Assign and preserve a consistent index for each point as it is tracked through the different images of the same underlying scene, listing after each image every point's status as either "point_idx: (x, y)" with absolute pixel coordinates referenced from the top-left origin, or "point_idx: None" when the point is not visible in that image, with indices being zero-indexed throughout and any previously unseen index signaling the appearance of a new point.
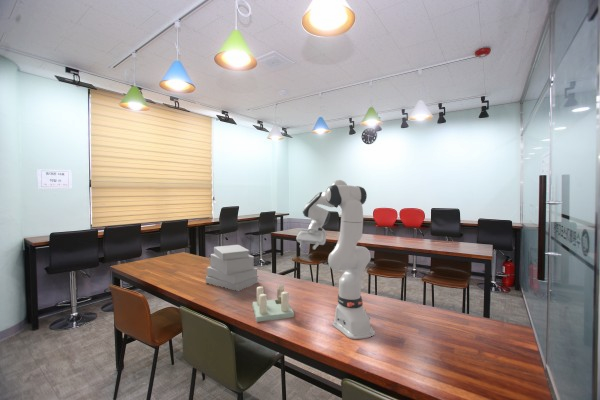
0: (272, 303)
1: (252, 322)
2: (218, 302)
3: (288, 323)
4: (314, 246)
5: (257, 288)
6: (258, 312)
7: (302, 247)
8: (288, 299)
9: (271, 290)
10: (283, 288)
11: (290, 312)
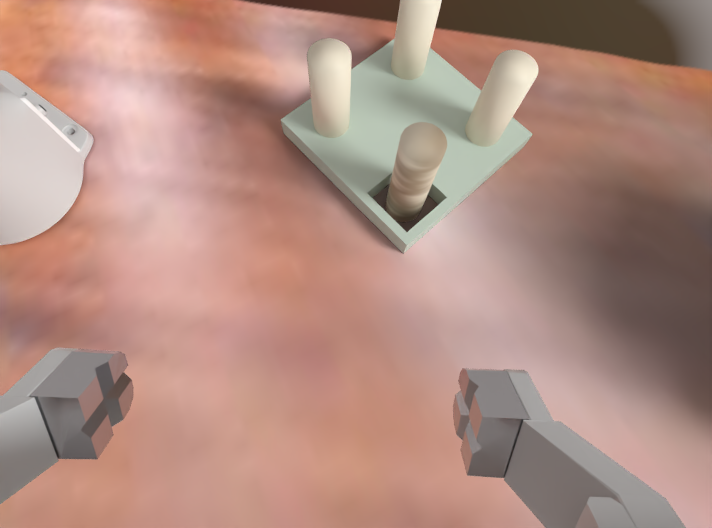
0: None
1: None
2: (692, 115)
3: (279, 81)
4: (38, 378)
5: (520, 51)
6: (428, 61)
7: (456, 430)
8: (310, 86)
9: (595, 379)
10: (397, 150)
11: (295, 113)
